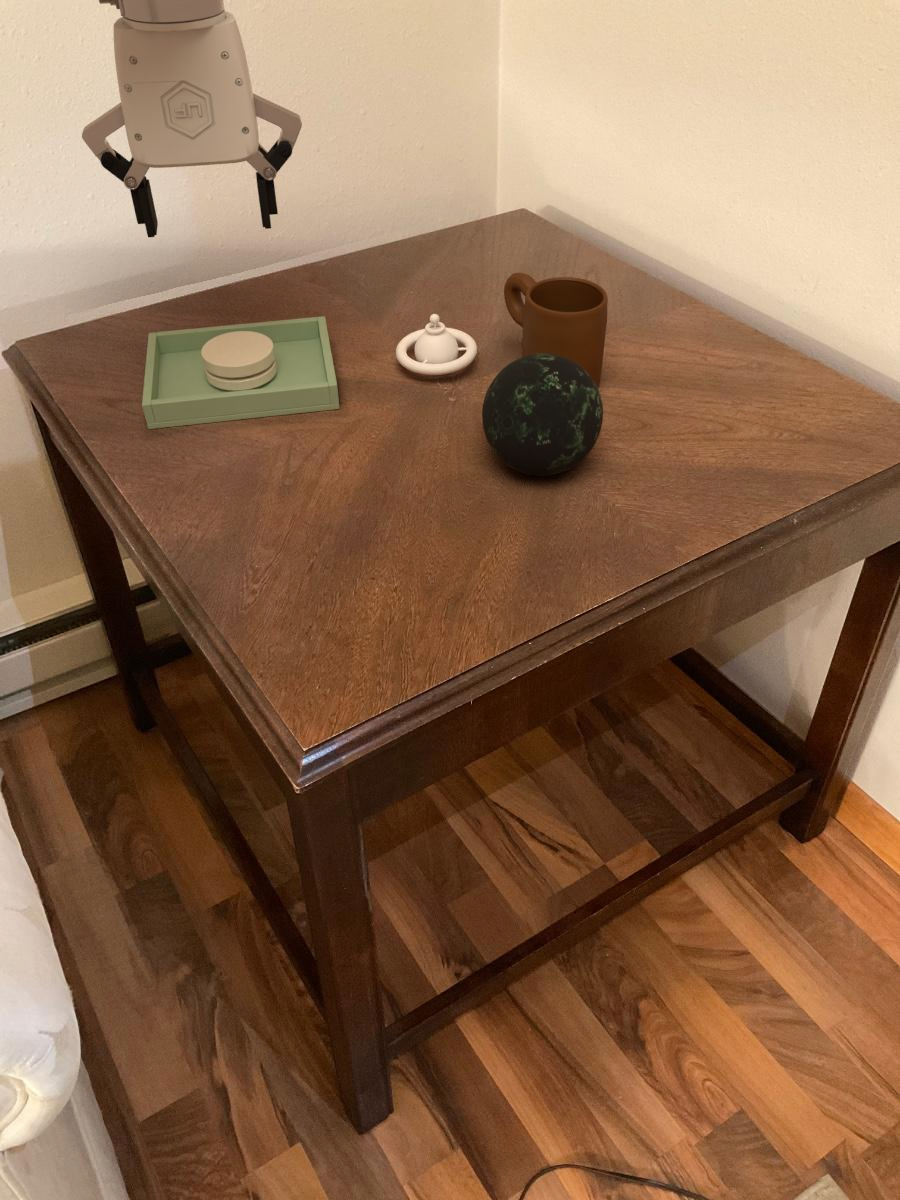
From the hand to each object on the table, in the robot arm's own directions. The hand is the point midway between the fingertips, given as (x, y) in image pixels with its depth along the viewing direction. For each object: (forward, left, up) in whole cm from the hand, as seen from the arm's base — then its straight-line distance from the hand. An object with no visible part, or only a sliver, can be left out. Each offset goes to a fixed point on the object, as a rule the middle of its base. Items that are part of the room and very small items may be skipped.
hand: (210, 226), depth 85 cm
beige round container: (0, +1, -15) cm, 15 cm away
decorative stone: (+25, -18, -16) cm, 35 cm away
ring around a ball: (+19, 0, -16) cm, 25 cm away
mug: (+29, -4, -16) cm, 34 cm away
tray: (0, +1, -16) cm, 16 cm away
